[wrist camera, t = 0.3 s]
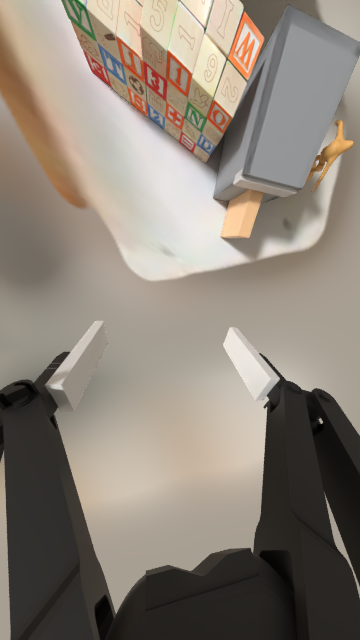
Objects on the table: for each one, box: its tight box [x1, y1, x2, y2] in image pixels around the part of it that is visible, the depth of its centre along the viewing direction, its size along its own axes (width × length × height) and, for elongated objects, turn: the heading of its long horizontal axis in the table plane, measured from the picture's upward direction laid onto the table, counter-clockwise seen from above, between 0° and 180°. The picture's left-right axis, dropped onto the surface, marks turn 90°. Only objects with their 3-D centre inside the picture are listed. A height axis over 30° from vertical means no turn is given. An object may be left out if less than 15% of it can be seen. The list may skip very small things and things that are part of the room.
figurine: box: [305, 120, 354, 191], centre depth 25 cm, size 8×6×12 cm
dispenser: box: [213, 4, 360, 204], centre depth 23 cm, size 12×10×13 cm
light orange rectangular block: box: [221, 189, 264, 238], centre depth 27 cm, size 14×2×9 cm, turn 173°
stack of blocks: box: [61, 0, 264, 163], centre depth 18 cm, size 21×6×12 cm, turn 65°
